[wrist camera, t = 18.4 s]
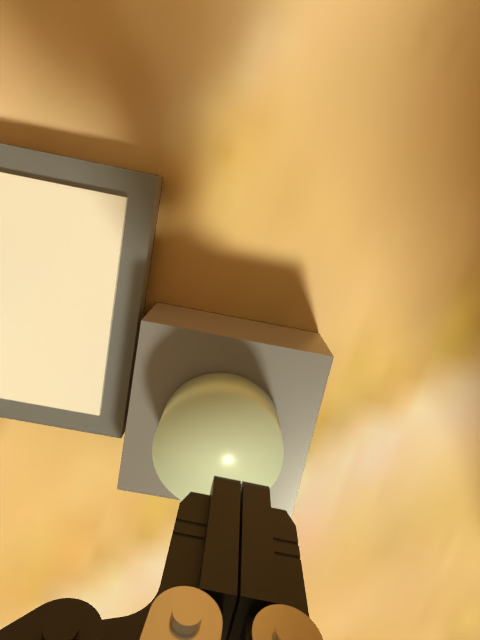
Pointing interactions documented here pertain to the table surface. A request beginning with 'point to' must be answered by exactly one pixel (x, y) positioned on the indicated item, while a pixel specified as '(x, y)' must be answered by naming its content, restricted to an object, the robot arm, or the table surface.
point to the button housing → (223, 357)
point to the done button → (217, 435)
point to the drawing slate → (72, 287)
